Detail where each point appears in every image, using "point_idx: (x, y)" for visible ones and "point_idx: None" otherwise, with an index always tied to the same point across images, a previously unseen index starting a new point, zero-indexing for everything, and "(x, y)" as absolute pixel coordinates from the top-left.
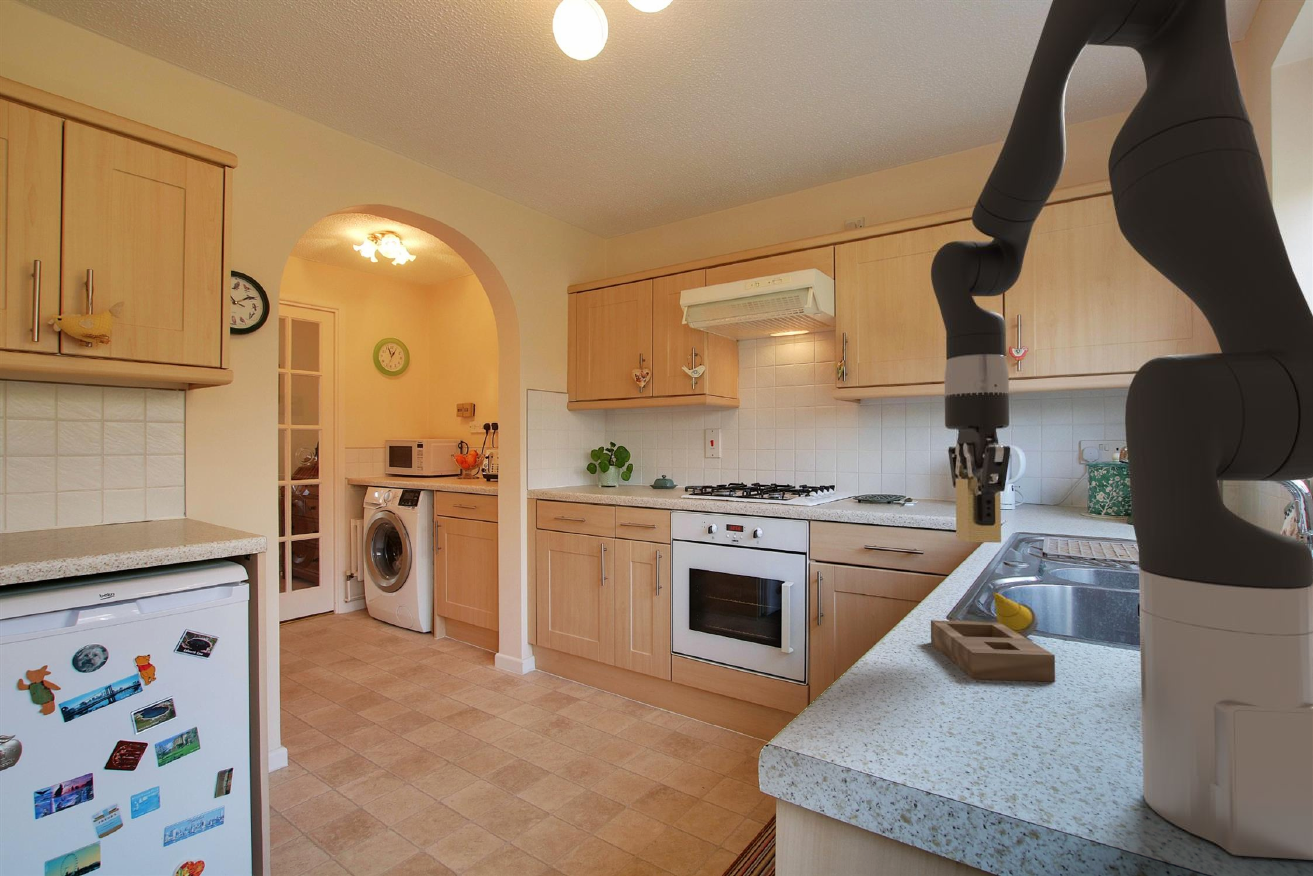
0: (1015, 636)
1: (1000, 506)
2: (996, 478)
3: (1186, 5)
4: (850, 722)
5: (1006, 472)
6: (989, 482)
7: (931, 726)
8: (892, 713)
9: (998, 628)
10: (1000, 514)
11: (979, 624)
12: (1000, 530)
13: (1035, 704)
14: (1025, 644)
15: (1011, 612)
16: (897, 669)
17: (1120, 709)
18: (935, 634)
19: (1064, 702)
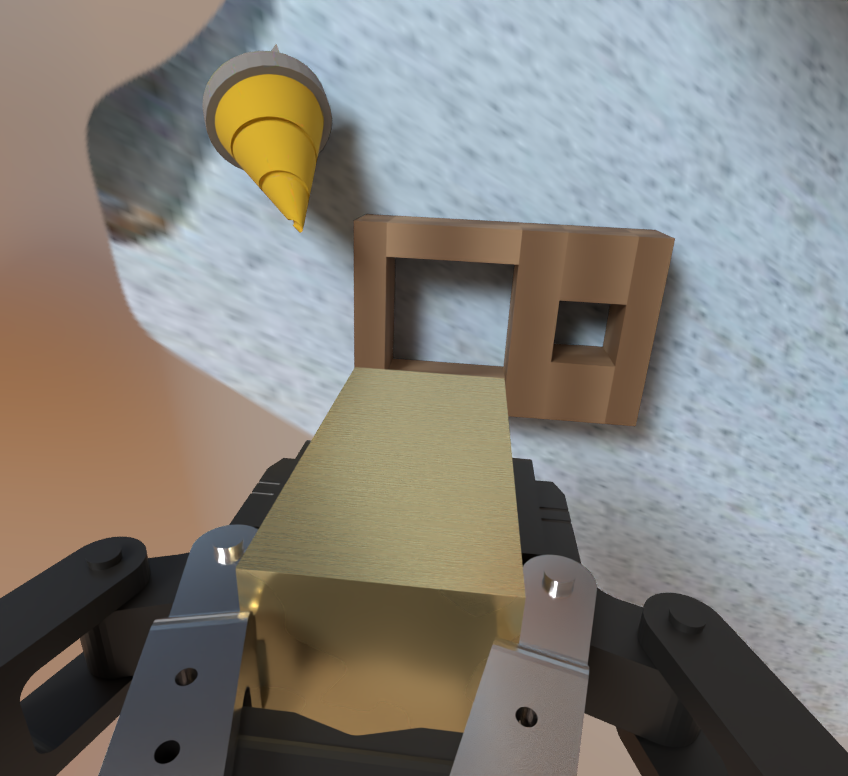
0: (503, 250)
1: (512, 468)
2: (583, 662)
3: None
4: (788, 655)
5: (838, 751)
6: (693, 734)
7: (827, 561)
8: (766, 594)
9: (423, 257)
10: (508, 442)
11: (384, 291)
12: (506, 404)
13: (772, 349)
14: (578, 264)
15: (315, 164)
16: None
17: (833, 182)
18: None
19: (773, 283)
